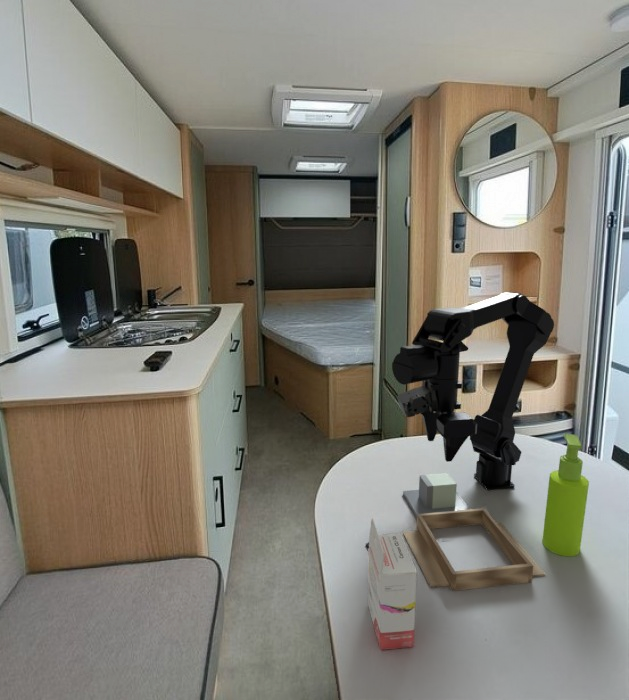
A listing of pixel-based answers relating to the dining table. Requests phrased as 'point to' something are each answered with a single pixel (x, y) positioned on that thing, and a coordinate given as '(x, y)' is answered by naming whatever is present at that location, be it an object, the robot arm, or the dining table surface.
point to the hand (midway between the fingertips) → (439, 450)
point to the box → (437, 490)
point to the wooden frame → (444, 574)
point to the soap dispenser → (566, 503)
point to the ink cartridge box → (391, 590)
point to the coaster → (419, 508)
